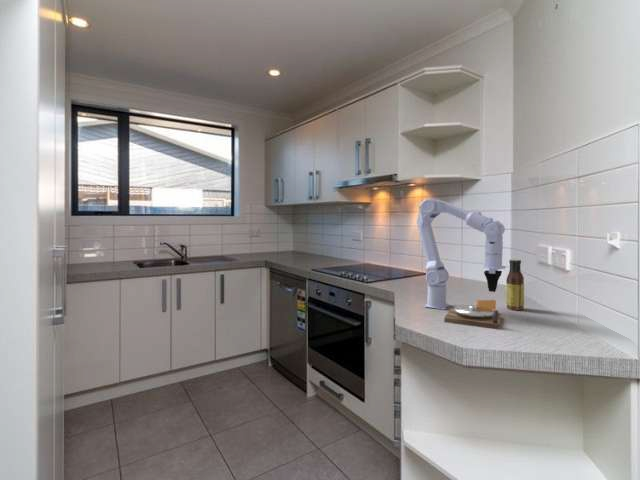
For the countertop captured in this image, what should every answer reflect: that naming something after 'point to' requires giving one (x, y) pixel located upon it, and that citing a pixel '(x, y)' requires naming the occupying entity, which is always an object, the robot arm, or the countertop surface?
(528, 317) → the countertop surface
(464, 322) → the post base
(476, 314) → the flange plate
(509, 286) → the sauce bottle
